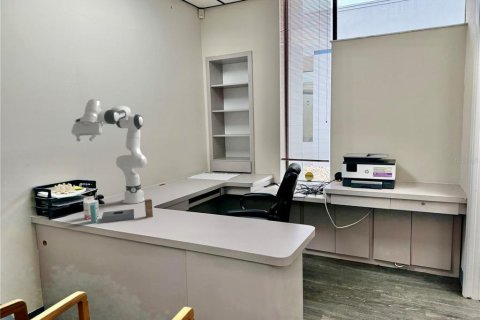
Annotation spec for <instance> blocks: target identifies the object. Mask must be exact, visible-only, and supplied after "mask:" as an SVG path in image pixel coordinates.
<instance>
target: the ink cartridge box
mask: <svg viewBox="0 0 480 320" xmlns="http://www.w3.org/2000/svg"><path fill="white" fill-rule="evenodd" d="M91 203H95V204H96V216H99V217H100V208H99V206H100V205H99V200H98V199H97V200H96V199H95V195H92V196H87V197H83V214H84V219H85V218H88V219H89V220H91V219H90V218H91V212H90V205H91ZM88 219H87V220H88Z"/></svg>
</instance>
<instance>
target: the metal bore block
mask: <svg viewBox="0 0 480 320" xmlns="http://www.w3.org/2000/svg"><path fill="white" fill-rule="evenodd" d="M129 219H131V220H135V209H134V208H132V209H124V210H123V209H122V210H112V211H104V212H103V213H102V215H101V222H105V223H110V222H109V221H113V222H120V221H119V220H122V221H128V220H129Z"/></svg>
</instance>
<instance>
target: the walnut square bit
mask: <svg viewBox="0 0 480 320" xmlns="http://www.w3.org/2000/svg"><path fill="white" fill-rule="evenodd" d="M144 209H145V210H144V212H145V217H146V218H147V217H149V218H153V217H154V215H153V214H154V213H153V200H152V198H145V201H144Z"/></svg>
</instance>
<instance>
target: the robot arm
mask: <svg viewBox="0 0 480 320" xmlns="http://www.w3.org/2000/svg"><path fill="white" fill-rule="evenodd" d="M84 108H85V109H84V114H83V116H82V117H80V118H76V119H75V120H74V124H73V125H72V128H71V134H72V135H74V136H75V137H76V140H75V141H76V142H80V141H81V138H80V137H81V136H90V137H89V140H88V141H90V142H94V139H95V137H97V136H101V135H102V133H103V126H104V125H116V126H117V128H120V129H127V132H126V138H125V147H126V149H127V150H128V151H130V153H131V154H123V155H119V156H117V157H116V160H115V163H116V164H115V165H116V166H117V168H119V169H120V170H121V171H122V173H123V174H124V177H125V192H124V200H122V204H128V205H129V204H131V205H132V204H139V203H142V202H145V199H146V198H145V197H144V191H143V190H142V184H141V178H140V174H139V173H137V172H136V171H135V170H134V169H144V168H145V167H146V166H147V165H148V159H147V157H146V156H145V155H144V154H143V153H142V150H141V138H142V137H141V136H142V135H141V128H142V127H143V125H144V117H143V116H142V115H141V114H132V110H131V108H130V107H129V106H127V105H115V106H113V107H112V108H111V109H102V108H101V102H100V100H99V99H98V100H97V99H90V100H89V99H88V101H87V102H86V104H85V107H84Z"/></svg>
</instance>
